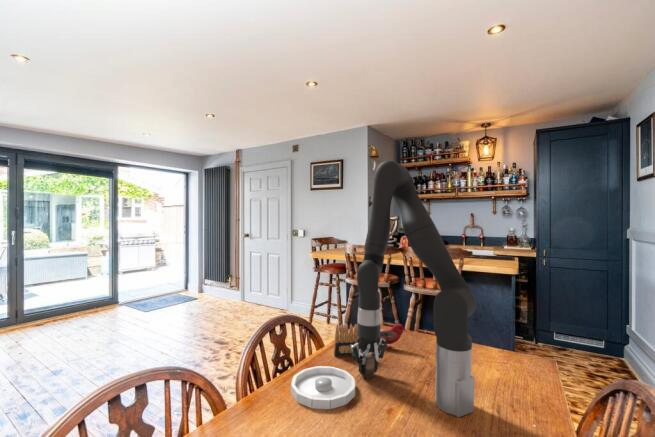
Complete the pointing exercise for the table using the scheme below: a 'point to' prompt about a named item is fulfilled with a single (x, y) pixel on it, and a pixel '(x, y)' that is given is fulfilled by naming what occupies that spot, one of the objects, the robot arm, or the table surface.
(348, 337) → the ammunition clip
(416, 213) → the robot arm
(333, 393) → the ring tray
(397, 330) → the decorative bird figurine
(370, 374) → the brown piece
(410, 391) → the table surface
